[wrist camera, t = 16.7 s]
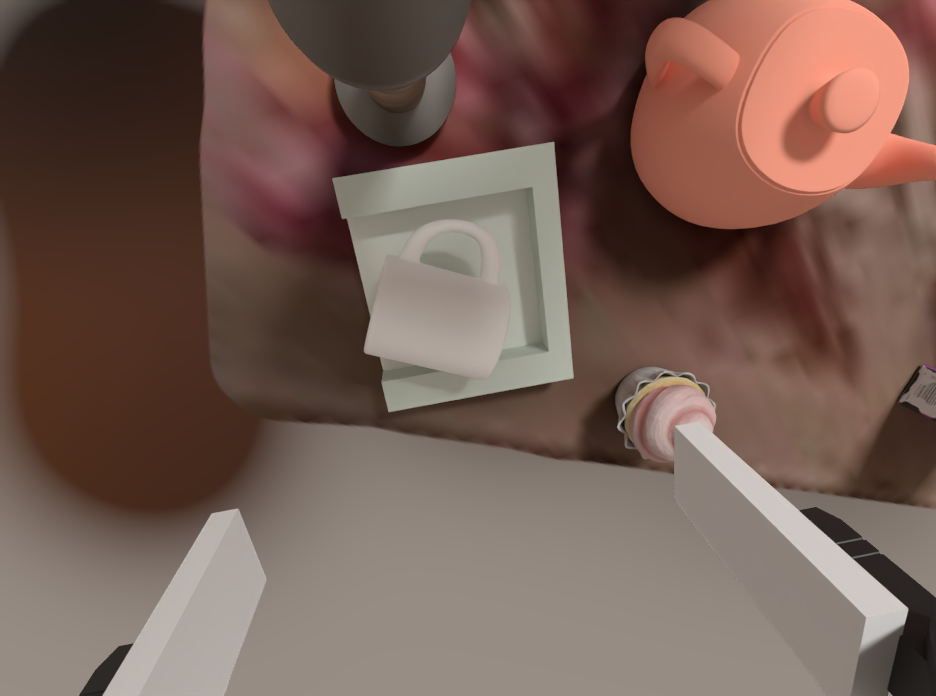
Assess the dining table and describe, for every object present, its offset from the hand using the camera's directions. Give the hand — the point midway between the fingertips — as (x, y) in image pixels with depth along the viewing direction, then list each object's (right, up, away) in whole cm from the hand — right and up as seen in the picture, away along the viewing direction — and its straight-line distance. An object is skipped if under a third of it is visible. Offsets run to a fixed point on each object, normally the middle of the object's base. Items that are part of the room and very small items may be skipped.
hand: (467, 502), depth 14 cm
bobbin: (-5, +25, +23) cm, 34 cm away
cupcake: (+18, 0, +35) cm, 39 cm away
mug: (-2, +10, +28) cm, 30 cm away
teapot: (+22, +24, +26) cm, 42 cm away
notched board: (-1, +11, +28) cm, 30 cm away
